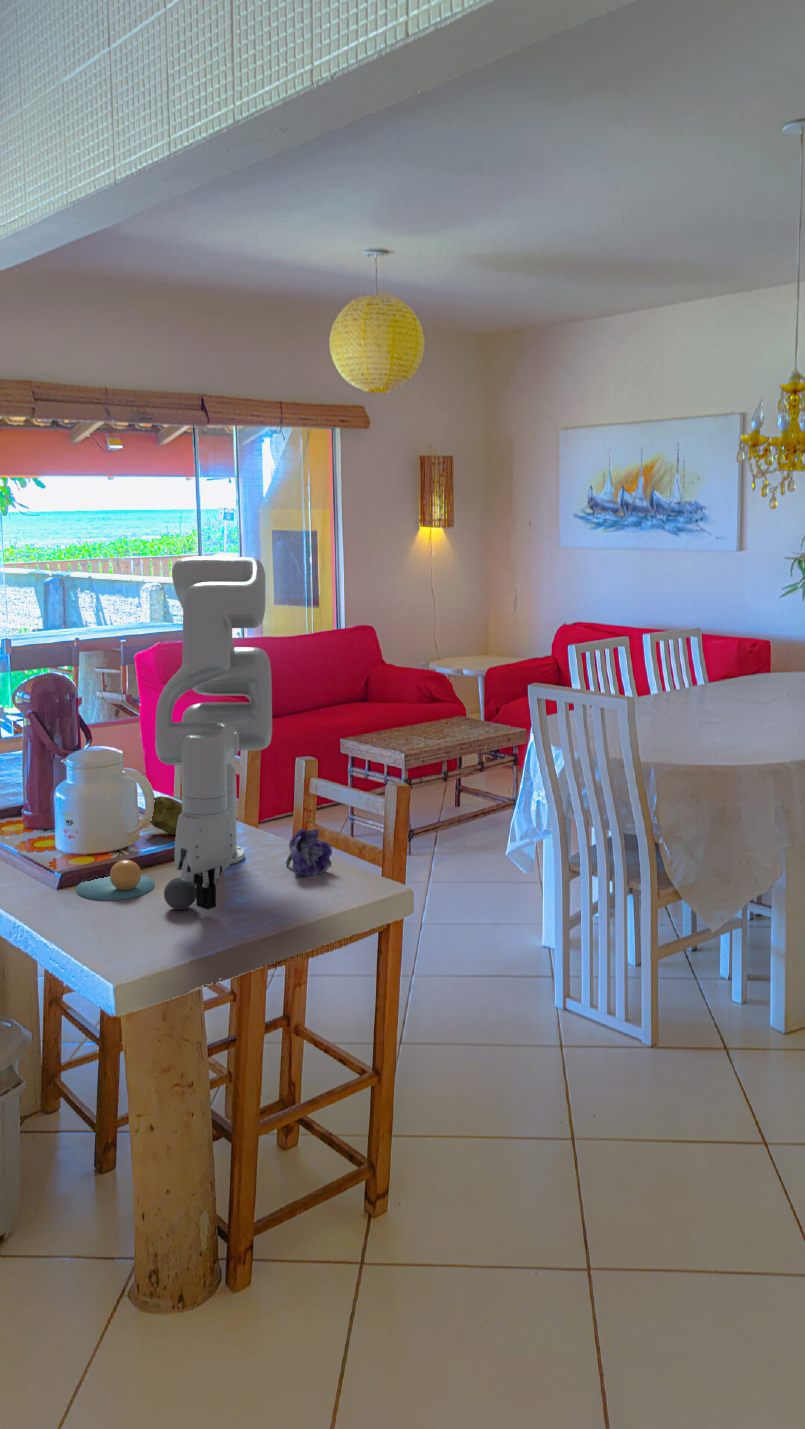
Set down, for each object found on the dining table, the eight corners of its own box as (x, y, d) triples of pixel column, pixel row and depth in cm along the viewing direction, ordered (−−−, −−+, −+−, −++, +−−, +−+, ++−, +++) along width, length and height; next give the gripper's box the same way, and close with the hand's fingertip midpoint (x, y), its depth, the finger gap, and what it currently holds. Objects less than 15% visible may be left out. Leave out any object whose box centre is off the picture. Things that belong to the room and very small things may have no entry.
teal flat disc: (92, 873, 205) (92, 872, 205) (163, 876, 204) (163, 875, 204) (64, 898, 191) (64, 897, 191) (141, 902, 190) (141, 901, 190)
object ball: (141, 858, 194) (146, 889, 194) (136, 855, 199) (140, 884, 199) (109, 865, 192) (114, 895, 192) (105, 861, 197) (110, 891, 197)
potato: (192, 842, 225) (191, 805, 223) (139, 835, 229) (138, 799, 227) (211, 831, 233) (211, 796, 231) (159, 825, 237) (158, 790, 235)
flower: (264, 837, 207) (306, 821, 204) (289, 844, 215) (330, 829, 211) (271, 883, 204) (314, 867, 200) (296, 889, 211) (338, 874, 207)
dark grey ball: (204, 889, 185) (197, 914, 188) (193, 870, 189) (186, 895, 192) (173, 890, 182) (166, 917, 184) (163, 871, 186) (156, 897, 188)
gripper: (219, 791, 189) (220, 890, 193) (156, 809, 177) (158, 914, 181) (251, 798, 185) (251, 899, 189) (188, 817, 173) (190, 924, 176)
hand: (206, 906), depth 185 cm, fingers closed
